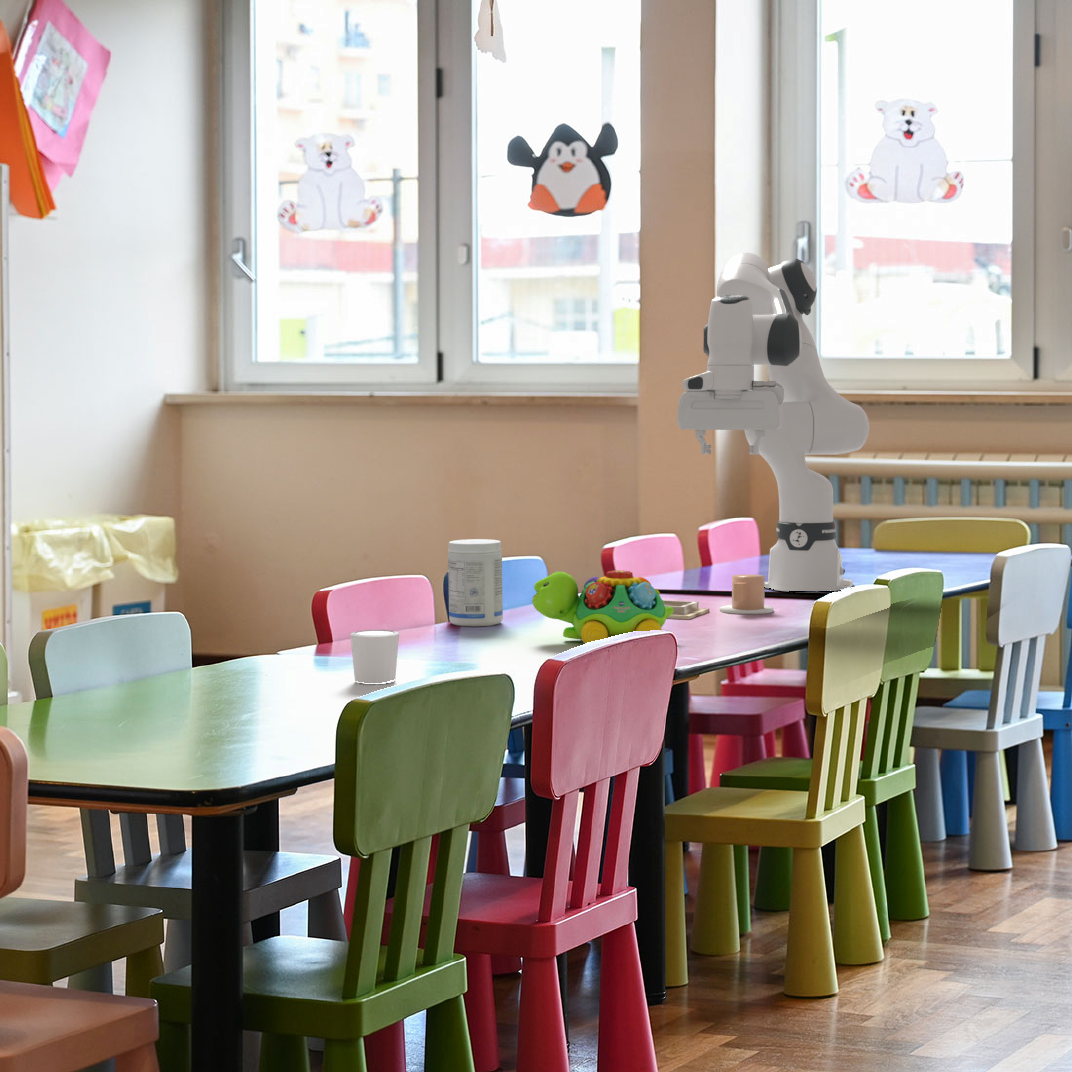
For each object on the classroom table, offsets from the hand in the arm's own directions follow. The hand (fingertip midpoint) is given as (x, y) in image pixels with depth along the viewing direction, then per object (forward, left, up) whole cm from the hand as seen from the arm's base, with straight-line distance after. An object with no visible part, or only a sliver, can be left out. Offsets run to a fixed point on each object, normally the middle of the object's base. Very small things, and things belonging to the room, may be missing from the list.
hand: (729, 454), depth 326 cm
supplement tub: (+41, -34, -29) cm, 61 cm away
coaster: (+5, +5, -29) cm, 30 cm away
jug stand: (+15, -7, -29) cm, 33 cm away
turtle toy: (+53, -5, -30) cm, 61 cm away
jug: (+7, +5, -29) cm, 30 cm away
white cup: (+103, -20, -29) cm, 109 cm away
